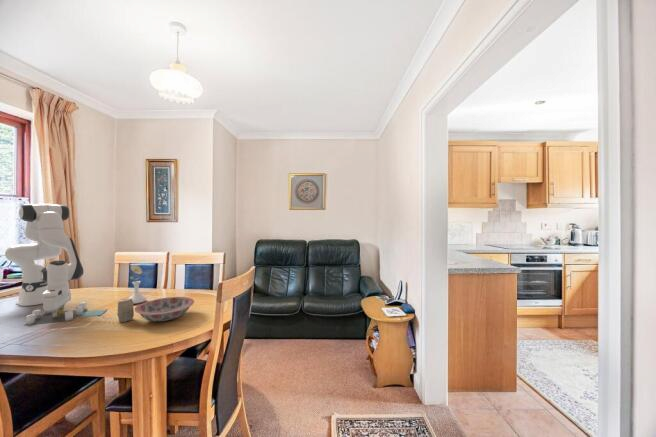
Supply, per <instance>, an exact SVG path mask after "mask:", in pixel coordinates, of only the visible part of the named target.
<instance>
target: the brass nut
mask: <svg viewBox="0 0 656 437" xmlns="http://www.w3.org/2000/svg"><path fill="white" fill-rule="evenodd" d="M64 311H65V307H64V308H60V307H58V308H57V312H58V315H57V316H53V313H52V316H53V318H59V317H62V316H64Z"/></svg>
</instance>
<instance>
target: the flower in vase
mask: <svg viewBox="0 0 656 437" xmlns="http://www.w3.org/2000/svg"><path fill="white" fill-rule="evenodd" d="M130 270H131V271H132V272H133V276H132V275H131V276H130V277H129V279H131V280H134V281H132V282H131V284H132V285H133V288H134V289H133V290H134V292H133V294H131V296H129V297H128V298H130V299H132V301H133V305H135V304H136V305H137V304H142V303H145V302H147V297H146V296H145V295H143V294H141V293H140V291H139V286H140V284H141V282H142V281H141V280H138V279H140V277H141V276H139V277H137V278H135V274H137V275H141V274H143V269H142V268H141V267H140V266H139V265H137V264H136V265H135V264H132V265H131V266H130ZM136 280H137V281H136Z"/></svg>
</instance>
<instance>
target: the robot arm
mask: <svg viewBox="0 0 656 437" xmlns="http://www.w3.org/2000/svg"><path fill="white" fill-rule="evenodd" d="M70 212H71V211H70V208H69V207H68V206H67V205H63V204H54V203H35V204H34V203H33V204H32V203H27V204H26V203H25V204H22V205H21V206H20V208H19V210H18V216H19V218H20V219H21V220H23V221H24V222H26V225H25V231H24V232H25V233H24V236H25V237H26V239H29V240H31V241H33V242H35V243H21V244H16V245H12V246H11V245H10V246H9V247H8V248H6V250H5V252H4V256H5V258H6V259H7V260H8V261H9V262H12V263H14V264H15V265H17V266H18V267H19V268H20V270H21V273H22V282H21V290H19V294H18V301H17V302H16V303H15V305H18V306H22V307H28V306H30V307H31V306H35V305H41V304H42V306H43V307H42V308H43V311H44V313H45V312H47V311H51V312H52V313H53V316H57V315H58V312H57V308H64V309H65V307H66V304H67V303H69V302H71V299H72V294H71V293H72V292H71V289H70V282H69V281H73V280H75V281H77V280H78V279H80V278H81V277H82V276H83V275H84V271H85V270H84V267H83V264H82V262H81V260H80V257H79V254H78V250H77V248H76V246H75V242H74V240H73V239H72V237H69V236H68V235H67V234H66V231H65V227H64V222H65V221H67V220H68V219H69V217H70ZM63 249H64V250H65V251H66V253H67V257H68V259H69V263H68V262H67V261H65V260H54V261H53V260H52V261H50V262H48V264H47V266H45V265H41V264H37V263H35V261H39V260H50V259H53V258H59V256H60V255H61V254H62V251H63Z"/></svg>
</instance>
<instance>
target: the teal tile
mask: <svg viewBox="0 0 656 437" xmlns="http://www.w3.org/2000/svg"><path fill="white" fill-rule="evenodd" d="M107 311H108V309H95V310H86V311H85V312H83V314H82V315H79V316H78V318H84V317H85V318H86V317H96V316H97V317H101V316H102V315H103V314H105V313H106V312H107Z"/></svg>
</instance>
